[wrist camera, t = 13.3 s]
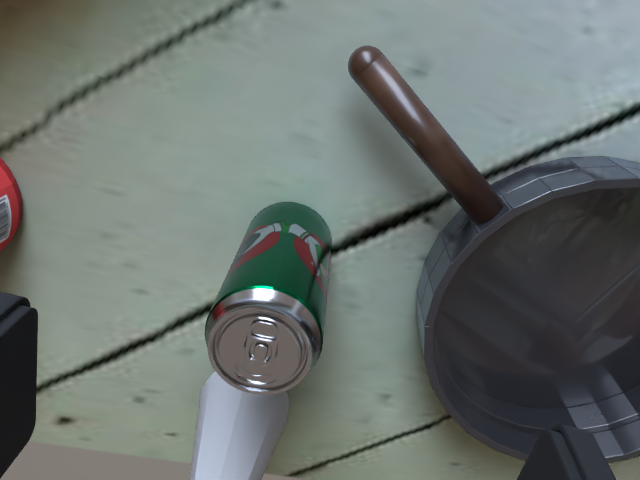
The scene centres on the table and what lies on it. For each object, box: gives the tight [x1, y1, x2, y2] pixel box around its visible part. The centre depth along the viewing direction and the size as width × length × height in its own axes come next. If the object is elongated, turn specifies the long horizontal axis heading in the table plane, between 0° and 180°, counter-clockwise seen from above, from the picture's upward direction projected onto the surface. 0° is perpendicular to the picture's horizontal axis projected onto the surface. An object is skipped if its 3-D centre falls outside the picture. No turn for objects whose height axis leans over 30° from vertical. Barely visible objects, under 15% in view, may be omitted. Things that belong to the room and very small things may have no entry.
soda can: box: [205, 202, 332, 395], centre depth 28 cm, size 5×5×12 cm
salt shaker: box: [190, 371, 289, 480], centre depth 32 cm, size 6×6×13 cm
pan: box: [417, 156, 640, 463], centre depth 32 cm, size 18×18×4 cm
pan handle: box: [348, 46, 506, 232], centre depth 28 cm, size 2×12×2 cm, turn 42°
